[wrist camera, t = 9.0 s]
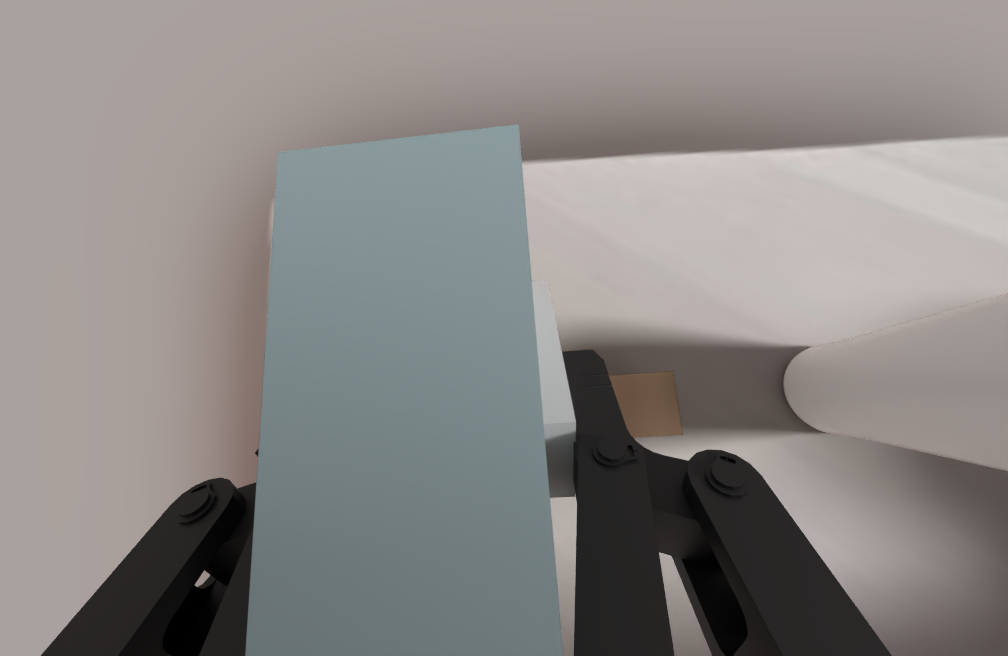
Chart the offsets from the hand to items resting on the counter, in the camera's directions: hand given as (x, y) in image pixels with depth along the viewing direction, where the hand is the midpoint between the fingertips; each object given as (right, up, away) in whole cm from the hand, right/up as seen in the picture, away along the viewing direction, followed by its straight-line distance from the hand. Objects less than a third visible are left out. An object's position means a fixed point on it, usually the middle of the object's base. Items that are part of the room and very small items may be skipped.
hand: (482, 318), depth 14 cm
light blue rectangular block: (+1, -5, +4) cm, 6 cm away
